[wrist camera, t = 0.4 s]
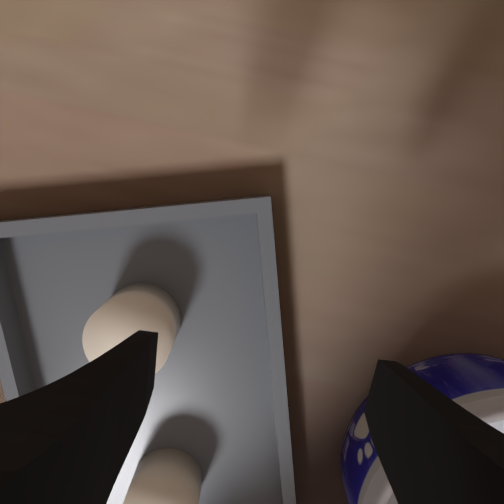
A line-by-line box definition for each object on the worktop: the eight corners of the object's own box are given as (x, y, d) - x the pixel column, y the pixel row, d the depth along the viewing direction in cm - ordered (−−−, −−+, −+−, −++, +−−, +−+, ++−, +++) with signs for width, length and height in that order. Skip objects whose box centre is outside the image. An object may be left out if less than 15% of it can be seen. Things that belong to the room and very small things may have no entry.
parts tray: (297, 539, 25) (301, 569, 23) (70, 561, 25) (55, 593, 23) (268, 194, 20) (270, 196, 19) (-13, 221, 20) (-40, 226, 19)
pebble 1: (185, 349, 22) (175, 378, 19) (113, 356, 22) (91, 386, 19) (175, 279, 21) (163, 297, 18) (100, 286, 21) (74, 305, 18)
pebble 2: (206, 502, 24) (200, 550, 21) (140, 508, 24) (124, 558, 21) (198, 444, 23) (190, 486, 20) (129, 451, 23) (111, 494, 20)
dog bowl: (375, 327, 22) (421, 380, 17) (599, 376, 23) (717, 442, 18) (311, 525, 25) (331, 630, 19) (512, 561, 26) (589, 671, 20)
